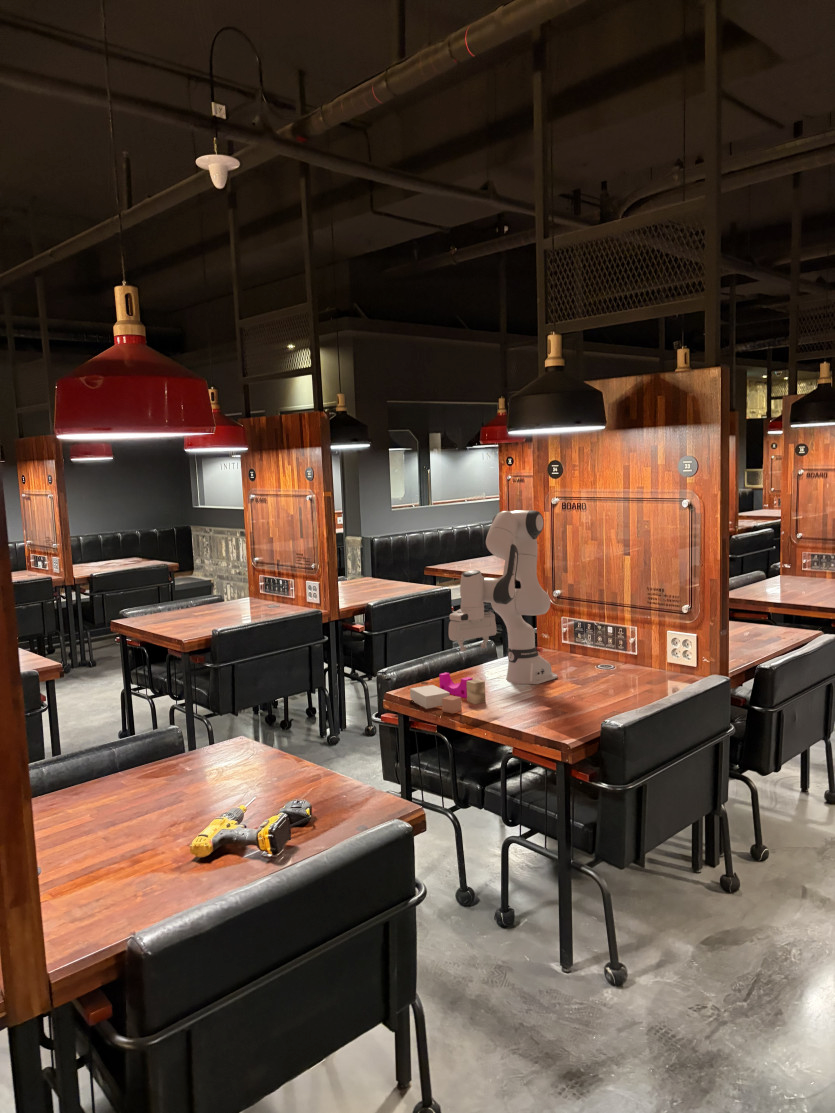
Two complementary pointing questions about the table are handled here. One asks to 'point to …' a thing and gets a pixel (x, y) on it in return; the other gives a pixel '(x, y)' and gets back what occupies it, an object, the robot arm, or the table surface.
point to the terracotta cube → (451, 704)
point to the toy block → (454, 685)
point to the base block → (428, 696)
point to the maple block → (476, 691)
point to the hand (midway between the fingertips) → (473, 649)
